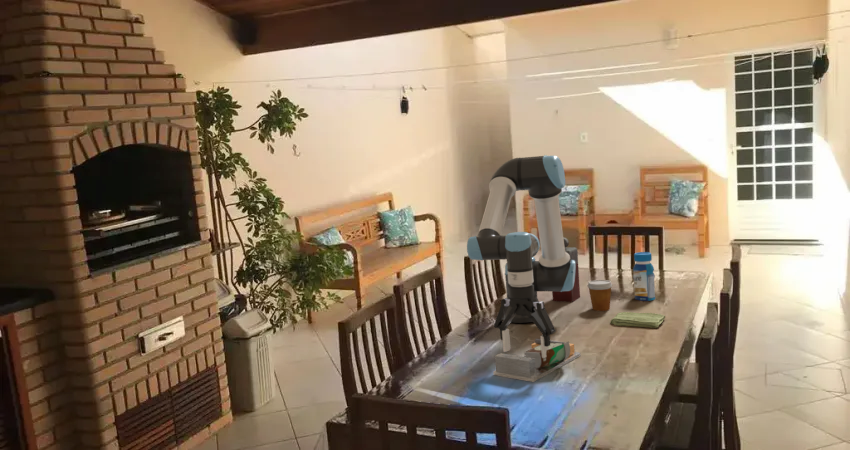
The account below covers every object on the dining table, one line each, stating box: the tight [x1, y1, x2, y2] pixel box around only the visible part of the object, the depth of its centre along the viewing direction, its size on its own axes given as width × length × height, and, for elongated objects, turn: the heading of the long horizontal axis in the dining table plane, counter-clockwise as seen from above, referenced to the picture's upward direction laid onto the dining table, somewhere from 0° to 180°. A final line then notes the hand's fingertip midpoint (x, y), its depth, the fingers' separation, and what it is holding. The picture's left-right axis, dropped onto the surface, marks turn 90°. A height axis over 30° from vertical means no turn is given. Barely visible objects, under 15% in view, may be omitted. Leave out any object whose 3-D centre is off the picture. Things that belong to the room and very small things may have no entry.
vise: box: [492, 351, 582, 383], centre depth 214 cm, size 14×28×6 cm, turn 139°
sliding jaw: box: [530, 338, 576, 356], centre depth 221 cm, size 12×6×5 cm, turn 49°
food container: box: [523, 341, 571, 368], centre depth 210 cm, size 12×6×10 cm
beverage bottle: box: [632, 251, 656, 302], centre depth 285 cm, size 8×8×20 cm
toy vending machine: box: [551, 237, 581, 303], centre depth 292 cm, size 9×11×28 cm
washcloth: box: [610, 311, 666, 329], centre depth 254 cm, size 13×18×3 cm
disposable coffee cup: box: [587, 279, 613, 312], centre depth 273 cm, size 10×10×12 cm
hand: (525, 353), depth 209 cm, fingers open, 13 cm apart
